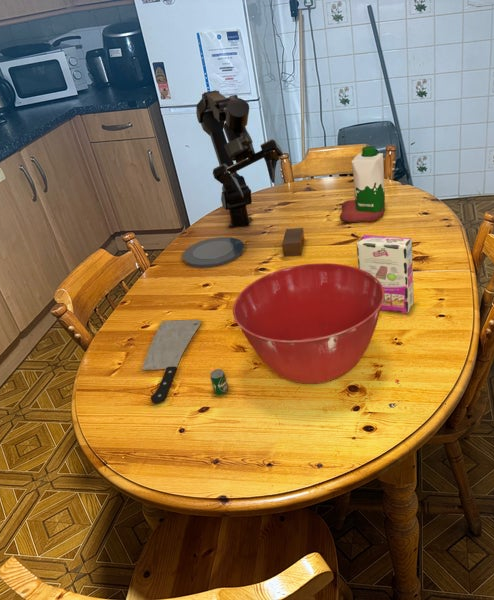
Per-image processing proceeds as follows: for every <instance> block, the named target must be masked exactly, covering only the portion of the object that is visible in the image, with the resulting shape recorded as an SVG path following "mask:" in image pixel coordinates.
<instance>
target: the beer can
mask: <svg viewBox="0 0 494 600" xmlns="http://www.w3.org/2000/svg"><path fill="white" fill-rule="evenodd" d="M209 377H210V382H211V386H212V389H213V392H214V394H215V395H217V396H223V395H226V394H227V393H228V391H229V384H228V381H227V377H226V374H225V371H224V370H223V369H221V368H217V369H213V370H212V371H211V372H210V374H209Z"/></svg>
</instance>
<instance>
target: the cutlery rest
mask: <svg viewBox="0 0 494 600" xmlns="http://www.w3.org/2000/svg"><path fill="white" fill-rule="evenodd" d="M304 245H305V231H304V228H303V227H296V228H294V227H293V228H285V231H284V236H283V239H282V242H281V247H282V254H283V257H284V258H287V257H302V255H303V251H304V247H305V246H304Z"/></svg>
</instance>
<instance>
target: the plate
mask: <svg viewBox="0 0 494 600" xmlns="http://www.w3.org/2000/svg"><path fill="white" fill-rule="evenodd" d="M244 251H245V244H244V242H243V241H242V240H240V239H239V238H236V237H230V236H219V237H212V238H206V239H203V240H201V241H198V242H196V243H193V244H192V245H190V246H189V247H187V248H186V249H185V250H184V251H183V253H182V260H183V262H184V264H186V265H187V266H189V267H193V268H198V269H199V268H200V269H201V268H203V269H204V268H205V269H206V268H215V267H219V266H222V265H226V264H229V263H231V262H233V261H234V260H236V259H238V258H240V257H241V256H242V255H243V253H244Z"/></svg>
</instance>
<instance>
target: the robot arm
mask: <svg viewBox="0 0 494 600" xmlns="http://www.w3.org/2000/svg"><path fill="white" fill-rule="evenodd" d="M195 106H196V107H195V109H196V111H195V112H196V118H197V122H198V124H200V126H201V129H202V130H203V132H205V133H206V134H207V135H208V136H209V137H210V140H211V143H212V146H213V149H214V152H215V155H216V159H217V162H218V165H217V166H216V167H215V168H213V169H212V175H213V178H214V179H215V180H216V181H217V182H219V183H220V184H222V186H221V197H220V201H221V202H220V203H221V205H222V207H223V208H224V210H225V211H228V214H229V218H230V223H229V224H228V228H229V229H230V228H242V227H243V228H245V227H249V226H250V224H251V221H252V217H251V216H249V214H248V208H247V206H249V205H252V189H251V188H250V186H249V185H247V182H246V179H245V177H244V176H243V175H240V174H239V173H238V172H239V171H240V170H242V169H245V168H246V167H249V166H250V165H252V164H254V163H256V162H259V161H261V160H262V159H264V162H265V165H266V168H267V172H268V176H269V178H270V181H271V183H272V184H275V182H276V170H277V169H276V168H277V163H278V161H280V157H282V156H283V155H284V153H283V150H282V148H281V146H280V144H279V143H278V142H277V141H276V139H273V138H271V139H269V140H267V141H266V142H263V143H262V144H260V150H259V151H255V147H254V143H253V141H254V140H253V139H252V136H251V134H250V133H249V132H248V130H247V126H248V121H249V115H250V104H249V102H247V101H246V100H244V99H242V98H241V97H238V94H233V95H229V96H228V97H226V96H225V95H223V94H222V93H220V91H219V90H210V91H204V92H203V93H202V94H201V99H200V100H199V102H197V104H196V105H195Z"/></svg>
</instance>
